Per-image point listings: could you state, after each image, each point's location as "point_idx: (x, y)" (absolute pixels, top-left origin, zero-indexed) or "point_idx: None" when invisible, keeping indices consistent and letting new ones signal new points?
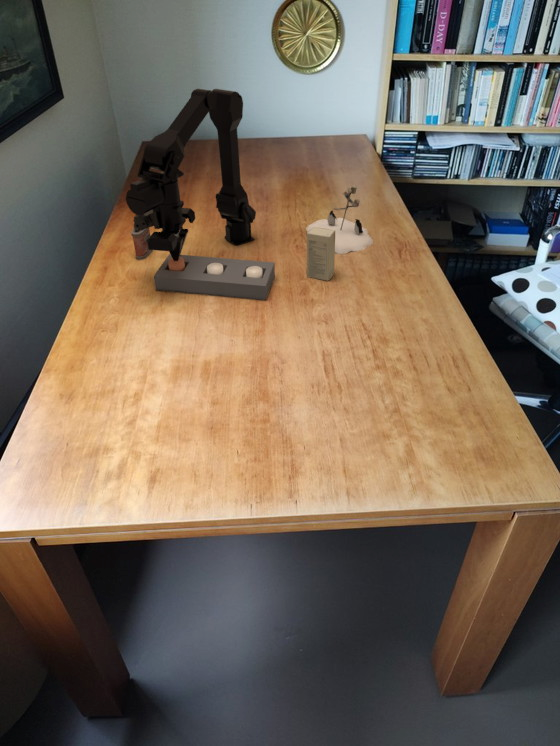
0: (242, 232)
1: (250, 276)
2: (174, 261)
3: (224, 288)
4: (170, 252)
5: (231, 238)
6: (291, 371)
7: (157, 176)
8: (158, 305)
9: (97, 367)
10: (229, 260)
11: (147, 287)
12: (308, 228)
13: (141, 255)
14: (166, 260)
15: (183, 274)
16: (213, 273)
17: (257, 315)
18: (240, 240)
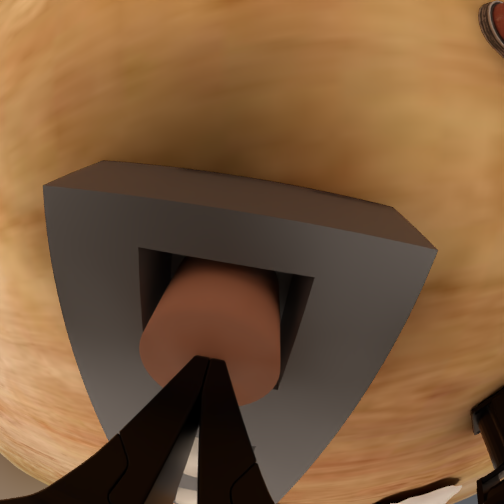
0: (486, 443)
1: (177, 491)
2: (185, 357)
3: None
4: (135, 422)
5: (494, 411)
6: (4, 422)
7: None
8: (12, 211)
9: None
10: (283, 480)
11: (131, 99)
12: (438, 493)
13: (499, 29)
14: (318, 242)
15: (116, 364)
16: None
17: (86, 438)
18: (480, 421)
